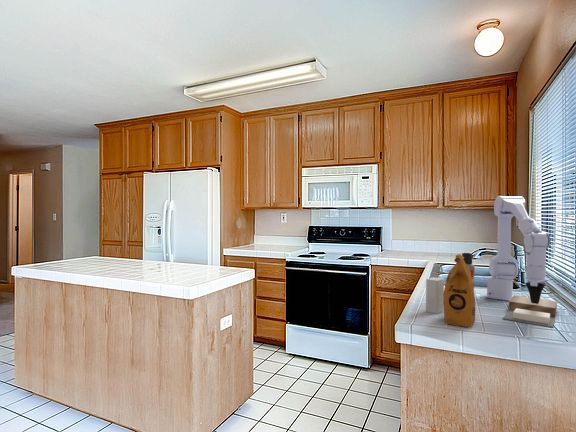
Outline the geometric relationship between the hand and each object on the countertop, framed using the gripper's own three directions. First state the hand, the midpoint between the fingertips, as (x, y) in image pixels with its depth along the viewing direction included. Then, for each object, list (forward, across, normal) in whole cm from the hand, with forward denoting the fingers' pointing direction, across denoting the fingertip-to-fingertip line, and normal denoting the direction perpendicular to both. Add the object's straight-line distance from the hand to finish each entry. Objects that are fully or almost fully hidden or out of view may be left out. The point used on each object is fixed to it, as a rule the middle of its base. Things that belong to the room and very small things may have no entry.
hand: (534, 303), depth 132 cm
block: (+2, -8, 0) cm, 9 cm away
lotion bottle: (+4, +6, +24) cm, 25 cm away
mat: (+4, -8, +1) cm, 9 cm away
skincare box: (+4, -20, +29) cm, 36 cm away
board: (+4, +6, +1) cm, 8 cm away
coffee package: (+4, -28, +19) cm, 35 cm away
